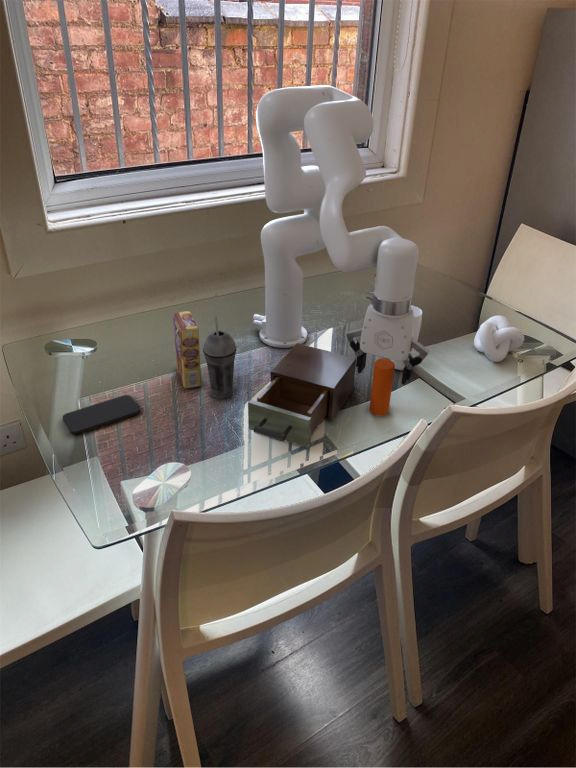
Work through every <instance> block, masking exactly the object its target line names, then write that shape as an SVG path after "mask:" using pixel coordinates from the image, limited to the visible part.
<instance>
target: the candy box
mask: <svg viewBox="0 0 576 768" xmlns="http://www.w3.org/2000/svg"><path fill="white" fill-rule="evenodd" d="M172 319H173V333H174V346H175V359H176V369H177V373H178V375H179V378H180V381H181V382H182V386H183V389H192V388H197V387H202V374H201V373H202V372H201V353H200V333H199V331H200V330H199V326H198V324H197V322H196V321H195V318H194V316H193V315H192V312H191V311H179V312H174V313H172Z"/></svg>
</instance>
